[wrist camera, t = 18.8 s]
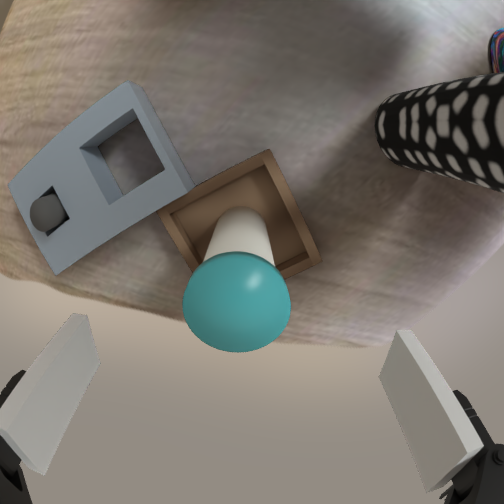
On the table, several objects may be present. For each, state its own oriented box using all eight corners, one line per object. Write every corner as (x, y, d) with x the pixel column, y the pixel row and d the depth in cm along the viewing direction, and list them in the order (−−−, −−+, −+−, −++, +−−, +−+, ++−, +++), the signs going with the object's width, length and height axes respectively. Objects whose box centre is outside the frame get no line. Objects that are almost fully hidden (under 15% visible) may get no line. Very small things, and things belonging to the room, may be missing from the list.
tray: (161, 205, 30) (155, 210, 27) (267, 149, 28) (269, 149, 26) (218, 299, 33) (216, 310, 31) (317, 253, 32) (322, 261, 30)
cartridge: (210, 254, 31) (182, 346, 17) (214, 199, 29) (183, 253, 15) (266, 260, 31) (281, 355, 17) (273, 205, 29) (299, 265, 15)
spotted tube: (448, 138, 27) (590, 160, 8) (405, 182, 29) (549, 240, 10) (407, 79, 25) (550, 47, 6) (359, 123, 27) (506, 112, 8)
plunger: (48, 200, 28) (25, 209, 24) (66, 184, 28) (43, 191, 23) (61, 225, 29) (39, 237, 25) (80, 210, 29) (59, 221, 24)
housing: (27, 179, 28) (7, 184, 24) (141, 87, 25) (127, 79, 22) (72, 262, 32) (55, 275, 28) (195, 186, 29) (187, 192, 25)
